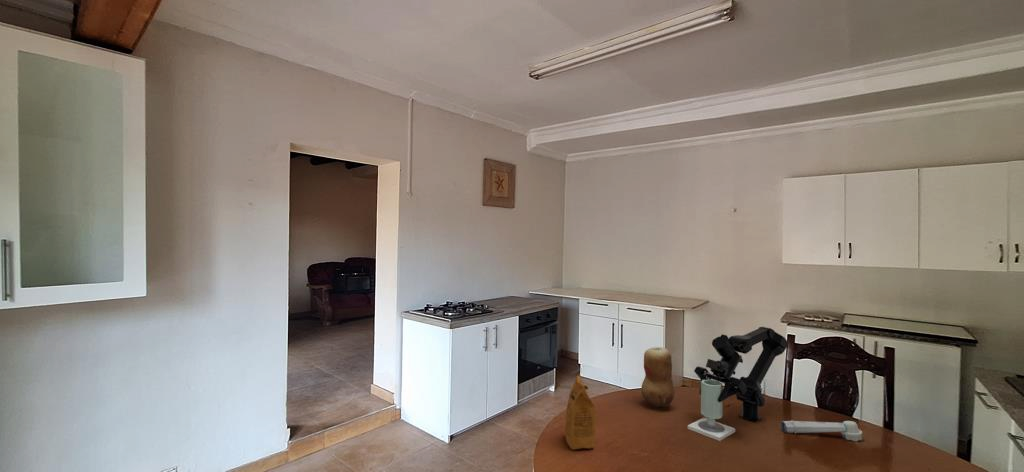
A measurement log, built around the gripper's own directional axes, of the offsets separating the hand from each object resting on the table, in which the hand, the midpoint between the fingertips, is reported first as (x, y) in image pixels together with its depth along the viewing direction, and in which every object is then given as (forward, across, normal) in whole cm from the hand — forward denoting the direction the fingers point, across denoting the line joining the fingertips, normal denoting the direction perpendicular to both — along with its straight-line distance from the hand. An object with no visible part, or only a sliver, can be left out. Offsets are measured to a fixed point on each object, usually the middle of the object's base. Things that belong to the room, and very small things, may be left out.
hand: (709, 397), depth 154 cm
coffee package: (+43, -15, -26) cm, 53 cm away
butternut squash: (+8, -25, +10) cm, 28 cm away
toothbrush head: (-15, +21, +33) cm, 42 cm away
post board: (+8, 0, +10) cm, 12 cm away
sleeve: (+4, 0, +6) cm, 7 cm away
